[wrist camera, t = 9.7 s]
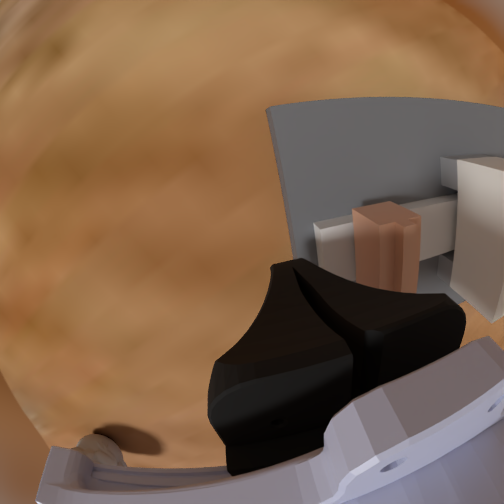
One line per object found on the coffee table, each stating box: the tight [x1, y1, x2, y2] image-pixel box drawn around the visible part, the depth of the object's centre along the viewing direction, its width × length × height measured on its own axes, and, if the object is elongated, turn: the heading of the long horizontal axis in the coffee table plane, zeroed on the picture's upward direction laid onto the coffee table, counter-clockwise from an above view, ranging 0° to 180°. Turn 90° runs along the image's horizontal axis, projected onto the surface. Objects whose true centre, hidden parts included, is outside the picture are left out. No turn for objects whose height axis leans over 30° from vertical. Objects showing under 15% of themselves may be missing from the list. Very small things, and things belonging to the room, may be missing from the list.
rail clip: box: [352, 201, 421, 293], centre depth 11 cm, size 4×2×3 cm, turn 12°
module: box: [437, 154, 504, 323], centre depth 11 cm, size 8×4×6 cm, turn 12°
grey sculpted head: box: [71, 434, 127, 467], centre depth 17 cm, size 6×7×7 cm
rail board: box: [266, 97, 504, 304], centre depth 13 cm, size 14×20×3 cm
